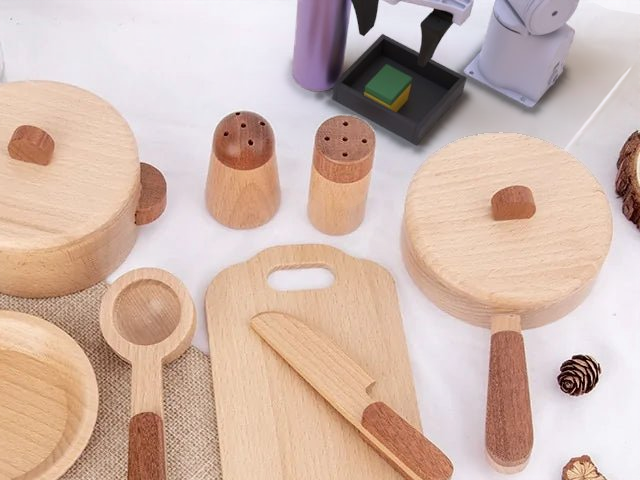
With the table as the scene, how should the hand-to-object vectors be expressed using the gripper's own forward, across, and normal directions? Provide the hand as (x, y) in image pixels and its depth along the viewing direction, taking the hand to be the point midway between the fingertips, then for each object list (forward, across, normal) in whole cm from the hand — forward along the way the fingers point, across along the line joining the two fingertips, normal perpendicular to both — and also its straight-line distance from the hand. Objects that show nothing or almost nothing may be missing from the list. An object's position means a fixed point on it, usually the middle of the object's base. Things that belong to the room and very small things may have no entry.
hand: (395, 45), depth 119 cm
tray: (+9, 0, +2) cm, 10 cm away
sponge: (+9, 0, 0) cm, 9 cm away
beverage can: (+10, -9, -1) cm, 13 cm away
